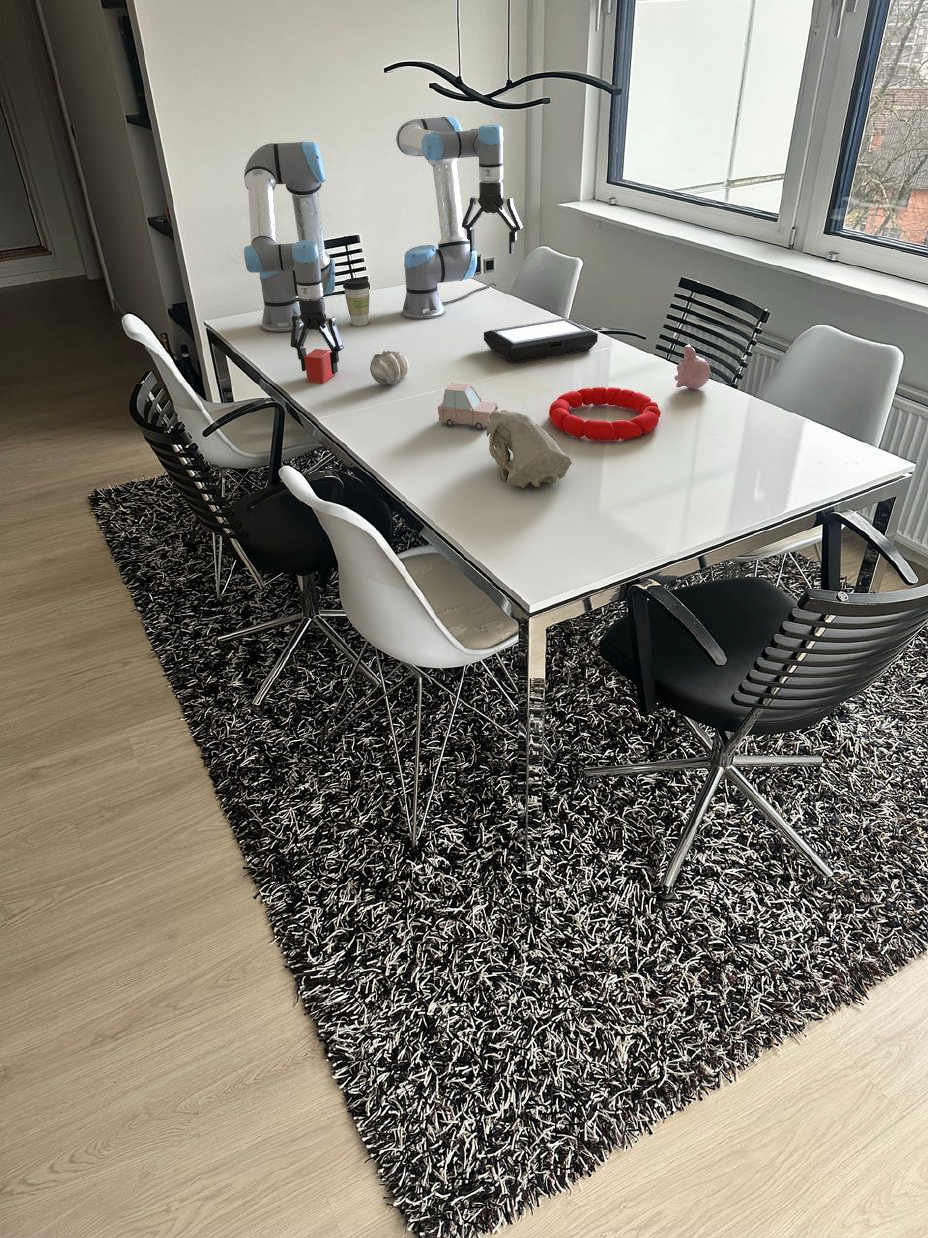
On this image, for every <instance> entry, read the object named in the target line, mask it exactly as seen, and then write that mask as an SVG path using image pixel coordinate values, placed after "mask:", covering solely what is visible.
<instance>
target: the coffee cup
mask: <svg viewBox="0 0 928 1238" xmlns="http://www.w3.org/2000/svg"><path fill="white" fill-rule="evenodd" d="M370 287H371V283H370V282H369V279H367V278H365V277H351V278H347V279H345V280H344V281H343V285H342V288H343V290H344V297H345V301H346V305H347V310H348V314H349V318H350V323H351V325H353V326H357V327H359V326H365V325H368V324H369V317H370V316H369V313H370Z"/></svg>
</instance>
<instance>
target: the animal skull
mask: <svg viewBox="0 0 928 1238" xmlns="http://www.w3.org/2000/svg"><path fill="white" fill-rule="evenodd" d="M485 436H486V438H487V437H489V438H488V440H489V444H488V445H489V446H488V450H489V454H490V456H491V457H492V458H493V459H494V460H495V462H496V464H497V466H499V468H500V470H501V471H502V472H501V478H502V479H507V480H506V484H507V486H517V487H518V486H519V488H523V489H524V488H526V486H527V485H529V483H531V485H533V486H534V487H536V488H540V485H541V484H542V482H544V483H549V484H550V485H553V484H555V483H556V482H557V480H561V479H563V478H565V476H566V474H567V472H568V471H569V469H570V467H571V466H572V464H573V462H572V461H571V458H570V457H568V456H567V455H565V453H564V451H562V449H561V448H560V446H559V444H557V443H556V439H555V438H554V436H553V435H551V434H550V433H548V432H547V431H546V430H545V429H544V428H542V427H541V426H539V425H538V424H537V423H536V424H535V422H534V421H533V419H532V418H531V417H530V416H529V415H527V414H524V413H519V412H515V411H509V410H507V409H502V410H500V411H499V410H497V411H496V412H492V413H491V414H490V422H488V423H487V427H486V435H485ZM511 453H512V454H511ZM511 455H512V457H513V458H512V460H511ZM507 474H508V475H507Z"/></svg>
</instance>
